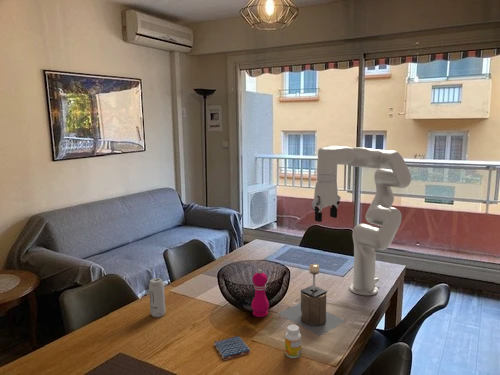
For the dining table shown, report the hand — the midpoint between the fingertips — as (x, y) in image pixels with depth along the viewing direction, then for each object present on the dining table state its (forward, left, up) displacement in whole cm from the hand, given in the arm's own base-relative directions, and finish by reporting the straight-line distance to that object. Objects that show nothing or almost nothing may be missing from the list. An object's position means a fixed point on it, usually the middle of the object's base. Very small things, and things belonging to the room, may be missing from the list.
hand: (326, 219), depth 160 cm
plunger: (+14, +6, -35) cm, 38 cm away
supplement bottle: (+35, +15, -38) cm, 54 cm away
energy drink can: (+57, -41, -38) cm, 80 cm away
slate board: (+13, +4, -38) cm, 41 cm away
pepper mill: (+26, -12, -38) cm, 48 cm away
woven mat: (+49, -1, -39) cm, 63 cm away
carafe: (+14, +6, -37) cm, 40 cm away
